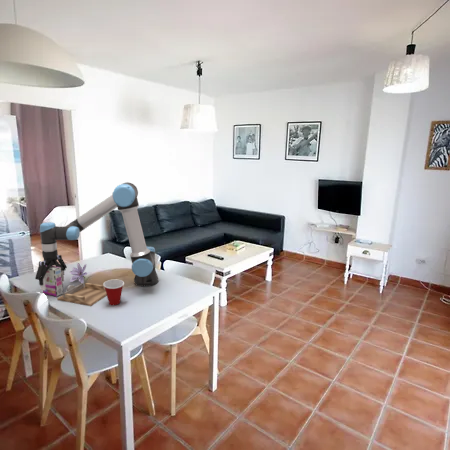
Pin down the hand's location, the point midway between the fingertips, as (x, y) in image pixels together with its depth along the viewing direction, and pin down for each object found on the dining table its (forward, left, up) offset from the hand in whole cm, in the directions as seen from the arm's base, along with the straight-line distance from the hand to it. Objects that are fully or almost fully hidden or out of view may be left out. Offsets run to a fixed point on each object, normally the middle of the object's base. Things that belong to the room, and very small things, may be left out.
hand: (52, 285), depth 182 cm
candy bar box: (0, 0, -5) cm, 5 cm away
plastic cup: (-40, -1, -5) cm, 41 cm away
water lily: (0, -20, -5) cm, 21 cm away
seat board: (-19, -3, -5) cm, 20 cm away
